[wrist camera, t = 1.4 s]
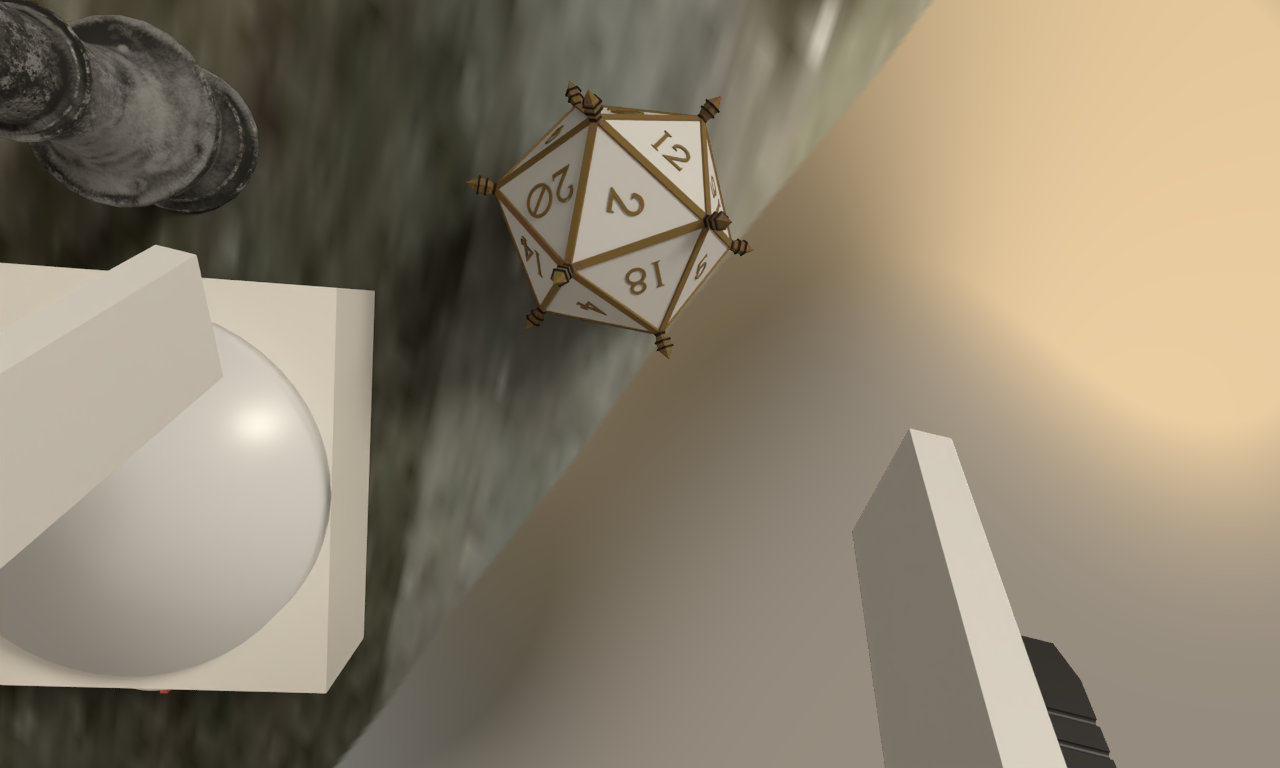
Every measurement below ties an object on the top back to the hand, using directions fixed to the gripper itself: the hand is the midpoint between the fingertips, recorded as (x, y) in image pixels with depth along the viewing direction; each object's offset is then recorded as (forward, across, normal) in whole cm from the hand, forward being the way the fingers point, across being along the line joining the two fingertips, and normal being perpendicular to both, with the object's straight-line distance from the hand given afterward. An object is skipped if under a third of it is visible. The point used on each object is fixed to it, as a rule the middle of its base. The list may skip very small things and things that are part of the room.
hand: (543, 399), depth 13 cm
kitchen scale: (+7, -14, -13) cm, 20 cm away
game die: (+15, -1, -3) cm, 15 cm away
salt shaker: (+13, -17, -3) cm, 22 cm away
